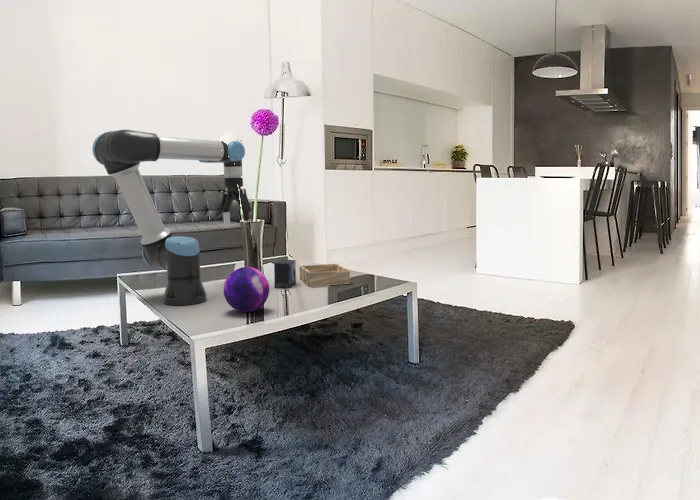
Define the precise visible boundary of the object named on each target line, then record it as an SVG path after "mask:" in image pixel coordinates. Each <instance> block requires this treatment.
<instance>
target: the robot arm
mask: <svg viewBox="0 0 700 500" xmlns="http://www.w3.org/2000/svg"><path fill="white" fill-rule="evenodd" d="M220 141H221V142H220ZM220 141H219V140H210V139H196V138H195V139H194V138H186V137H185V138H183V137H181V138H180V137H167V136H159V135H158V134H157V133H154V132H144V131H139V130H132V129H119V130H114V131H113V130H112V131H111V130H110V131H109V130H108V131H105V132H103V133H101V134H99V135H98V136H96V137H95V140H94V141H93V144H92V147H91V148H92V155H93V156H94V158H95V161H97V162H98V163H99V164H100V165H101V166H103V167H104V169H105V170H106V173H107V175H108V176H110V177H113V178H114V179H115V181H116V183H117V185H118V189H120V191H121V194H122V196H123V198H124V200H125V202H126V204H127V206H128V208H129V210H130V214H131V215H132V217H133V219H134V222H135V224H136V226H137V228H138V230H139V232H140V235H141V236H142V237H141V240H140V244H141V246H142V250H141V256H142V259H143V261H144V262H145V263H146V265H148V266H149V267H151V268H153V269H157V270H159V271H160V270H162V271H163V270H164V271H166V274H167V283H166V287H165V290H164V294H163V304H165V305H168V306H189V305H196V304H200V303H204V302H206V301H207V300H208V299H207V298H208V297H207V293H206V289H205V287H204V284H203V282H202V278H201V277H202V276H201V259H200V255H201V254H200V251H201V250H200V245H199V244H200V243H199V241H198V239H196V238H194V237H190V236H177V235H176V236H174V235H173V233H172V231H171V230H170V229H169V228H167V227H165V225H164V223H163V221H162V219H161V216H160V215H159V212H158V210H157V208H156V206H155V203H154V201H153V198H152V197H151V194H150V192H149V190H148V188H147V186H146V183H145V181H144V178H143V176H142V174H141V172H140V170H139V167H140V165H141V163H142V162H143V163H144V162H157V161H158V160H183V161H198V162H199V163H203V164H207V163H208V164H209V163H210V164H211V163H212V164H213V163H215V164H217V163H218V164H219V163H222V164H223V177H225V178H224V187H225V188H222V197H221V201H220V206H219V211H220V212H222V215H223V216H222V219H223V228H225V229H228V228H231V214H230V208H231V206H232V203H233V201H235V202H236V203H237V205H238V206H239V209H240V210H241V207H240V200H239V191H238V187H237V184H238V185H239V189H240V198H241V204H242V210H243V215H242V214H241V213H240V217H241V218H240V219H241V220H242V219H244V220H246V221H248V222H249V213H250V212H252V208H251V205H250V202H249V199H248V195H247V190H246V188H242V187H243V186H244V179H243V159H244V157H245V155H246V149H245V147H244V145H243V143H242V142H241V141H240V142H241V143H240V142H238V141H232V142H230V143H229V144H228V145H227V144H226V143H224V142H223V140H220ZM221 150H222V151H221ZM228 156H229V157H228ZM233 159H234V160H233ZM234 163H235V165H234Z"/></svg>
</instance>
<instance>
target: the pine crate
mask: <svg viewBox="0 0 700 500" xmlns="http://www.w3.org/2000/svg"><path fill="white" fill-rule="evenodd" d="M298 271H299V280H300V281H301V282H302V281H303V282H304V284H305V285H306V286H307V287H308V288H309V287H310V288H309V289H311V288H322V287H323V286H326V287H331V286H330V285H337V284H347V283H350V284H351V279H350V278H351V275H350V274H351V273H350V272H351V271H350V270H349V269H348V268H345V267H343V266H342V265H339V264H338V263H329V264H328V263H327V264H309V265H299V270H298ZM303 282H302V283H303ZM323 288H324V287H323Z"/></svg>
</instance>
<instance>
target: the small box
mask: <svg viewBox="0 0 700 500" xmlns="http://www.w3.org/2000/svg"><path fill="white" fill-rule="evenodd" d="M273 266H274V267H273V273H274V275H273V276H274V289H290V288H291V287H294V286H295V285H296V284H297V274H296V273H297V272H296V271H297V270H296V269H297V265H296V259H280V260H277V261H275V262H274V263H273Z"/></svg>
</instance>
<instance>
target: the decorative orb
mask: <svg viewBox="0 0 700 500" xmlns="http://www.w3.org/2000/svg"><path fill="white" fill-rule="evenodd" d="M269 294H270V284H269V280H268V279H267V277H266V275H265V274H264V273H263V272H262V271H260V270H259V269H257V268H255V267H251V266H243V267H238V268H236V269H234V270H233V271H232V272H231V273H229V275H228V276H227V277H226V279H225V281H224V285H223V296H224V298H225V301H226V302H227V304H228V305H229V306H230V307H231V308H232V309H234V310H236V311H239V312H242V313H251V312H254V311H257V310H258V309H260V308H261V307H263V306H264V305H265V303H266V302H267V300H268V298H269V296H270V295H269Z"/></svg>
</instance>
